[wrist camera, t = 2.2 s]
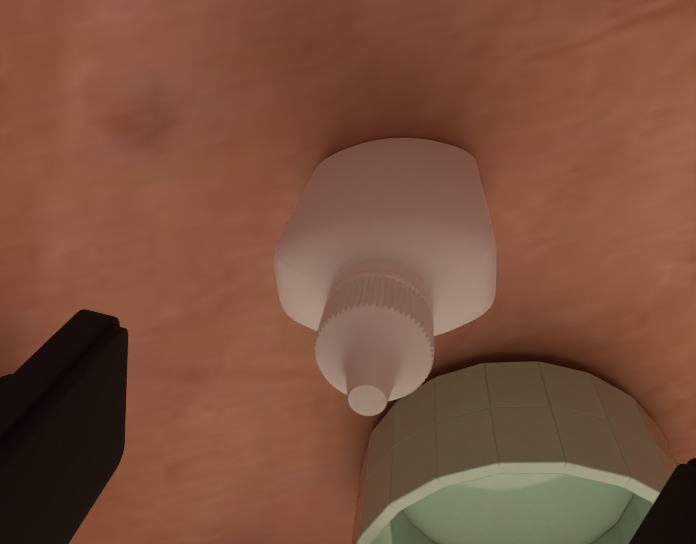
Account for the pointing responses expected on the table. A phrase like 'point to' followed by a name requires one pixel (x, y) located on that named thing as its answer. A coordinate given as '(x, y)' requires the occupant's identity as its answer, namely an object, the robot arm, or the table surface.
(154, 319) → the table surface
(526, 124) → the table surface
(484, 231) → the eye dropper bottle
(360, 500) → the bowl
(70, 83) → the table surface
